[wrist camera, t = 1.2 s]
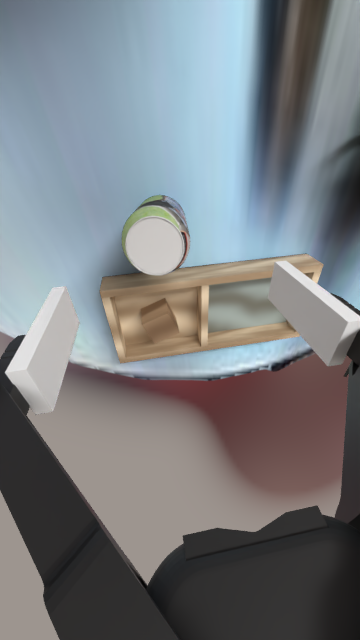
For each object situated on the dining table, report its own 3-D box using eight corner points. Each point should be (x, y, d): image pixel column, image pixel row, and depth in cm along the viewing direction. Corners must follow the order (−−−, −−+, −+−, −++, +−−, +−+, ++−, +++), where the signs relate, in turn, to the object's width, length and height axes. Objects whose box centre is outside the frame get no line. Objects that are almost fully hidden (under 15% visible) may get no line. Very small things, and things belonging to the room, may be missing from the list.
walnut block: (140, 308, 36) (141, 324, 33) (165, 297, 35) (168, 313, 32) (152, 326, 38) (154, 343, 35) (175, 316, 38) (179, 333, 35)
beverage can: (175, 249, 32) (192, 295, 23) (119, 234, 30) (113, 277, 21) (191, 201, 29) (219, 229, 20) (130, 179, 27) (129, 200, 17)
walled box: (102, 276, 33) (99, 291, 30) (306, 253, 36) (323, 264, 33) (121, 346, 41) (120, 363, 38) (287, 322, 44) (299, 336, 41)
